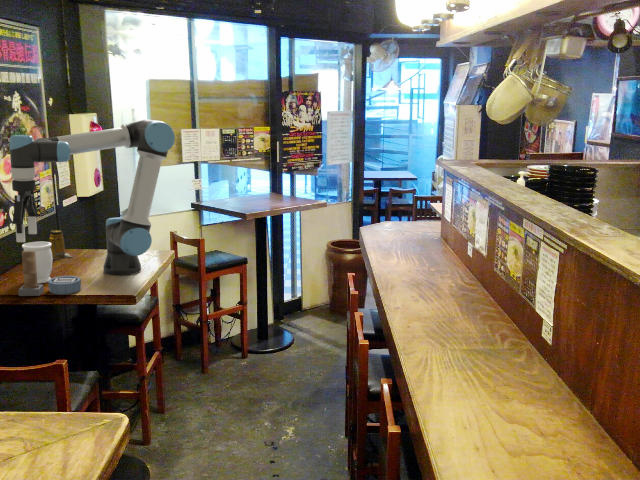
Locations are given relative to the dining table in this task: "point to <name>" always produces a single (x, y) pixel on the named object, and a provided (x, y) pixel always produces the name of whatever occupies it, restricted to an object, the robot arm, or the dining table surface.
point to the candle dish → (64, 285)
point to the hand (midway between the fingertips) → (27, 237)
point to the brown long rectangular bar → (29, 269)
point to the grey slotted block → (31, 291)
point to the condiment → (57, 245)
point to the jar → (41, 259)
